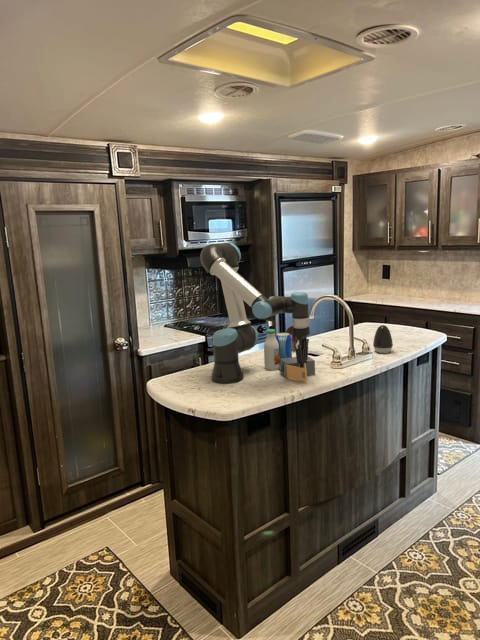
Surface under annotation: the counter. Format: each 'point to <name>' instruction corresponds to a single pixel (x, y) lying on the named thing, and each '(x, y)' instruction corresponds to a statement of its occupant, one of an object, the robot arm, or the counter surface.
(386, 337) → the egg shaped speaker
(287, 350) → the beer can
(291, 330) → the decorative mushroom
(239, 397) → the counter surface
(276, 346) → the milk bottle
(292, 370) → the side door
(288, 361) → the camera body
